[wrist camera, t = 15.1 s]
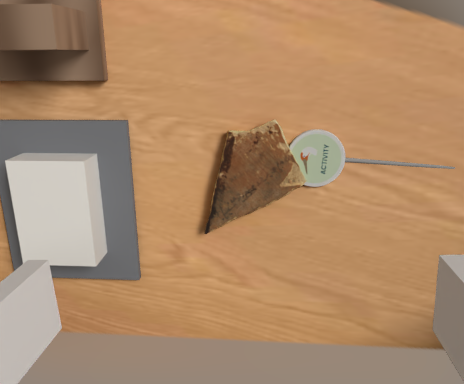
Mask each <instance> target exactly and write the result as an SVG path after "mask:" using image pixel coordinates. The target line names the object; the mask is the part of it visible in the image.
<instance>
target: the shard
mask: <svg viewBox="0 0 464 384" xmlns="http://www.w3.org/2000/svg"><path fill="white" fill-rule="evenodd" d="M306 181H307V180H306V178H305V176H304V174H303V173H302V171H301V169H300V166H299V164H298V163H297V161H296V159H295V157H294V155H293V153H292V151H291V150H290V148H289V146H288V144H287V142H286V139H285V137H284V135H283V130H282V129H281V126H280V125H279V124H278V123H277V121H276V120H272V121H270V122H268V123H266V124H264V125H262V126H260V127H257V128H255V129H252V130H250V131H227V139H226V143H225V147H224V150H223V155H222V159H221V164H220V168H219V173H218V177H217V180H216V183H215V188H214V192H213V196H212V203H211V211H210V216H209V219H208V221H207V223H206V228H205V234H207V233H208V232H211V231H213V230H214V229H217V228H219V227H221V226H223V225H224V224H226V223H227V222H229V221H232V220H234V219H236V218H238V217H241V216H243V215H246V214H249V213H251V212H253V211H255V210H257V209H259V208H262V207H265V206H267V205H269V204H271V203H272V202H273V201H276V200H279V199H280V198H282V197H284V196H286V195H287V194H289V193H290V191H292V190H294V189H296V188H299V187H301V186H303V185H304V183H305V182H306Z"/></svg>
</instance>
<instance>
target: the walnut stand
mask: <svg viewBox="0 0 464 384" xmlns="http://www.w3.org/2000/svg"><path fill="white" fill-rule="evenodd" d="M104 80H108V74H107V64H106V53H105V42H104V31H103V21H102V10H101V0H0V81H104Z"/></svg>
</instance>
